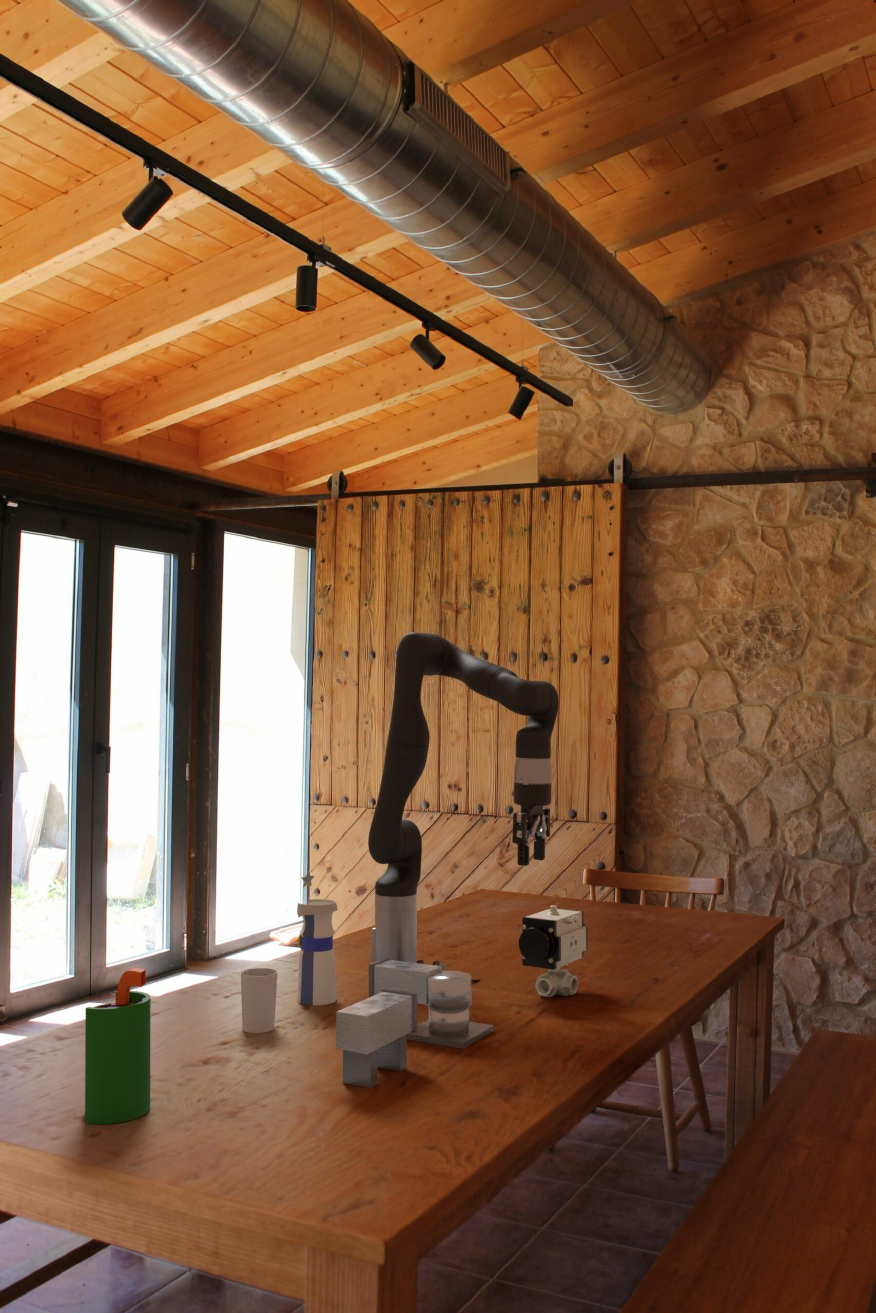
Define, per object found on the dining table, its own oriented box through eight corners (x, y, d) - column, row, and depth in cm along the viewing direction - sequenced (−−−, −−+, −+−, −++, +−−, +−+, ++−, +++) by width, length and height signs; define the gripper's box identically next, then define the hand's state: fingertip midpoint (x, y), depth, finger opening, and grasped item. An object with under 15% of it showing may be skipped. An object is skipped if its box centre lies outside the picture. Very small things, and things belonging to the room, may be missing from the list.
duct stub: (402, 1038, 191) (402, 1009, 191) (434, 1021, 202) (435, 994, 202) (463, 1048, 186) (463, 1018, 186) (493, 1030, 196) (493, 1002, 196)
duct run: (368, 1091, 164) (369, 1014, 165) (334, 1085, 167) (334, 1009, 168) (416, 1064, 177) (417, 992, 178) (383, 1058, 180) (384, 988, 181)
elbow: (478, 1002, 196) (479, 967, 196) (458, 1013, 189) (458, 976, 189) (388, 989, 204) (388, 956, 205) (366, 999, 197) (366, 964, 198)
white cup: (262, 1020, 202) (263, 966, 202) (284, 1028, 197) (285, 972, 198) (232, 1027, 197) (233, 971, 198) (253, 1035, 193) (254, 978, 193)
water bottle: (285, 1002, 215) (287, 874, 216) (310, 993, 222) (311, 869, 224) (320, 1008, 211) (321, 877, 212) (344, 998, 219) (345, 872, 220)
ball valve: (555, 1006, 213) (555, 914, 214) (517, 1000, 217) (517, 910, 218) (594, 987, 228) (593, 901, 229) (557, 982, 232) (557, 897, 233)
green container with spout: (93, 1099, 160) (96, 961, 161) (155, 1097, 161) (158, 960, 162) (76, 1125, 150) (80, 977, 151) (143, 1123, 151) (146, 976, 152)
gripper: (528, 777, 226) (527, 856, 225) (501, 781, 213) (499, 865, 212) (562, 779, 222) (561, 859, 222) (537, 783, 210) (535, 868, 209)
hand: (531, 862), depth 217 cm, fingers open, 8 cm apart
